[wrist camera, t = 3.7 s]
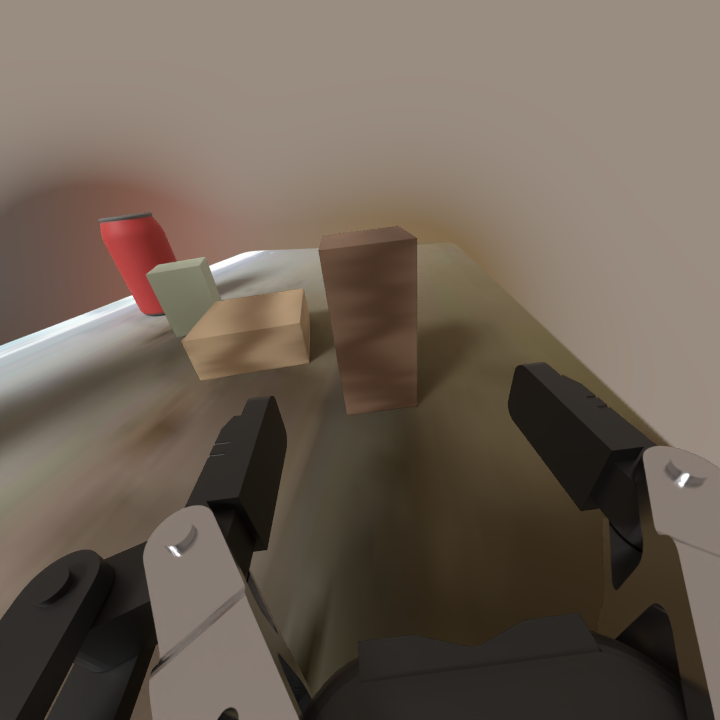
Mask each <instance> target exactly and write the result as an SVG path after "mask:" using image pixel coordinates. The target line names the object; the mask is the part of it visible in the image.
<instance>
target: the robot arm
mask: <svg viewBox="0 0 720 720" xmlns="http://www.w3.org/2000/svg"><path fill="white" fill-rule="evenodd" d="M508 409H509V413H510V416H511V418H512V420H513V421H514V422H515V424H516V425H517V426H518V428H519V429H520V430H521V432H522V433H523V434H524V436H525V437H526V438H527V440H528V441H529V442H530V444H531V445H532V446H533V448H534V449H535V450H536V452H537V453H538V454H539V456H540V457H541V458H542V460H543V461H544V462H545V464H546V465H547V466H548V468H549V469H550V470H551V472H552V473H553V475H554V476H555V477H556V479H557V480H558V481H559V483H560V484H561V485H562V487H563V488H564V489H565V491H566V492H567V493H568V495H569V496H570V497H571V499H572V500H573V501H574V503H575V504H576V505H577V507H578V508H579V509H580V511H584V510H592V509H600V510H601V511H602V512H603V513H604V515H605V517H604V519H603V522H602V539H603V571H604V598H603V604H602V607H601V610H600V613H599V618H598V624H597V633H596V632H593V631H589V629H588V627H587V626H586V624H585V622H584V620H583V619H582V617H581V615H580V613H573V614H565V615H558V616H550V617H542V618H535V619H527V620H524V621H522V622H520V623H518V624H517V625H515V626H513V627H511V628H509V629H508V630H506V631H504V632H502V633H501V634H499V635H497V636H495V637H494V638H492V639H490V640H488V641H486V642H485V643H483V644H481V645H479V646H476V647H469V646H464V645H459V644H454V643H450V642H445V641H441V640H436V639H431V638H427V637H422V636H417V635H413V634H412V635H404V636H397V637H389V638H381V639H374V640H366V641H358V650H359V657H357V658H356V659H354V660H352V661H350V662H348V663H347V664H346V665H344V666H343V667H342V668H340V669H339V670H338V671H336V672H335V673H334V674H333V675H332V676H331V677H330V678H329V679H328V680H327V681H326V682H325V683H324V685H323V686H322V687H321V688H320V690H319V691H318V692H317V694H316V695H315V696H314V697H313V695H312V693H311V691H310V689H309V687H308V685H307V683H306V681H305V679H304V677H303V675H302V673H301V671H300V669H299V667H298V665H297V663H296V661H295V659H294V657H293V655H292V654H291V652H290V650H289V648H288V647H287V645H286V643H285V641H284V639H283V637H282V635H281V633H280V631H279V629H278V627H277V625H276V623H275V621H274V619H273V617H272V614H271V612H270V610H269V608H268V606H267V604H266V602H265V600H264V598H263V596H262V594H261V592H260V589H259V587H258V585H257V583H256V581H255V579H254V577H253V575H252V573H251V571H250V569H249V568H250V563H251V559H252V554H253V552H255V551H262V550H267V548H268V543H269V538H270V532H271V527H272V522H273V516H274V511H275V506H276V501H277V495H278V490H279V485H280V480H281V474H282V469H283V464H284V459H285V453H286V448H287V435H286V430H285V426H284V423H283V420H282V417H281V414H280V411H279V408H278V406H277V403H276V400H275V398H274V397H273V396H267V397H259V398H251V399H248V401H247V403H246V405H245V408H244V410H243V412H242V415H241V416H234V417H233V418H232V419H231V420H230V421H229V422H228V423H227V424H226V425H225V426H224V427H223V428H222V429H221V432H220V434H219V436H218V438H217V440H216V442H215V446H213V449H212V451H211V453H210V458H208V459H207V461H206V463H205V466H204V468H203V470H202V472H201V474H200V476H199V478H198V480H197V483H196V485H195V487H194V489H193V491H192V493H191V495H190V497H189V500H188V502H187V504H186V506H185V508H183V509H181V510H179V511H177V512H175V513H174V514H172V515H171V516H169V517H168V518H167V519H166V520H164V521H163V522H162V523H161V524H160V525H159V526H158V527H157V528H156V530H155V531H154V532H153V533H152V535H151V536H150V538H149V540H148V541H146V542H144V543H142V544H139V545H137V546H135V547H132V548H130V549H128V550H125V551H123V552H121V553H118V554H116V555H114V556H111V557H109V558H107V559H103V558H102V557H101V556H99V555H98V554H97V553H96V552H94V551H92V550H80V551H76V552H73V553H70V554H68V555H66V556H64V557H62V558H60V559H58V560H57V561H55V562H54V563H52V564H51V565H49V566H48V567H46V568H45V569H44V570H43V571H41V572H40V573H39V574H38V575H37V576H36V577H35V578H34V579H33V580H31V581H30V583H29V584H28V585H27V586H26V587H25V588H24V589H23V590H22V592H21V593H20V594H19V595H18V597H17V598H16V599H15V601H14V602H13V604H12V605H11V606H10V608H9V609H8V610H7V612H6V613H5V615H4V616H3V617H2V619H1V620H0V720H44V718H45V716H46V714H47V712H48V710H49V708H50V706H51V704H52V702H53V700H54V698H55V697H56V695H57V693H58V691H59V689H60V687H61V685H62V683H63V681H64V679H65V677H66V675H67V673H68V671H69V669H70V667H71V665H72V663H74V666H73V668H72V670H71V672H70V674H69V676H68V678H67V680H66V682H65V684H64V686H63V688H62V690H61V692H60V694H59V696H58V698H57V700H56V702H55V704H54V706H53V708H52V710H51V712H50V714H49V716H48V718H47V720H130V718H131V715H132V712H133V709H134V706H135V703H136V700H137V698H138V695H139V692H140V689H141V686H142V683H143V680H144V678H145V675H146V672H147V669H148V666H149V663H150V660H151V658H152V655H153V652H154V649H155V646H156V645H157V644H158V645H159V651H160V660H159V664H158V665H156V666H155V667H154V668H153V670H152V672H151V675H150V682H149V693H150V702H151V709H152V716H153V720H720V469H719V468H718V467H717V466H715V465H714V464H712V463H711V462H709V461H707V460H706V459H704V458H702V457H700V456H698V455H696V454H693V453H690V452H688V451H685V450H682V449H678V448H674V447H668V446H657V445H656V444H654V443H653V442H652V441H651V440H649V439H648V438H647V437H646V436H645V435H643V434H642V433H641V432H640V431H638V430H637V429H636V428H635V427H634V426H632V425H631V424H630V423H629V422H627V421H626V420H625V419H624V418H622V417H621V416H620V415H619V414H618V413H616V412H615V411H614V410H613V409H611V408H608V407H607V404H605V403H604V402H603V401H602V400H600V399H599V398H596V397H595V395H594V394H593V393H592V392H591V391H589V390H588V389H587V388H586V387H584V386H583V385H582V384H580V383H578V382H576V381H574V380H572V379H570V378H568V377H566V376H564V375H562V376H561V375H560V374H559V373H557V372H556V371H555V370H554V369H553V368H551V367H550V366H549V365H548V364H546V363H544V362H540V363H532V364H524V365H519V366H517V367H516V369H515V372H514V376H513V381H512V386H511V390H510V395H509V400H508Z"/></svg>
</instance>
